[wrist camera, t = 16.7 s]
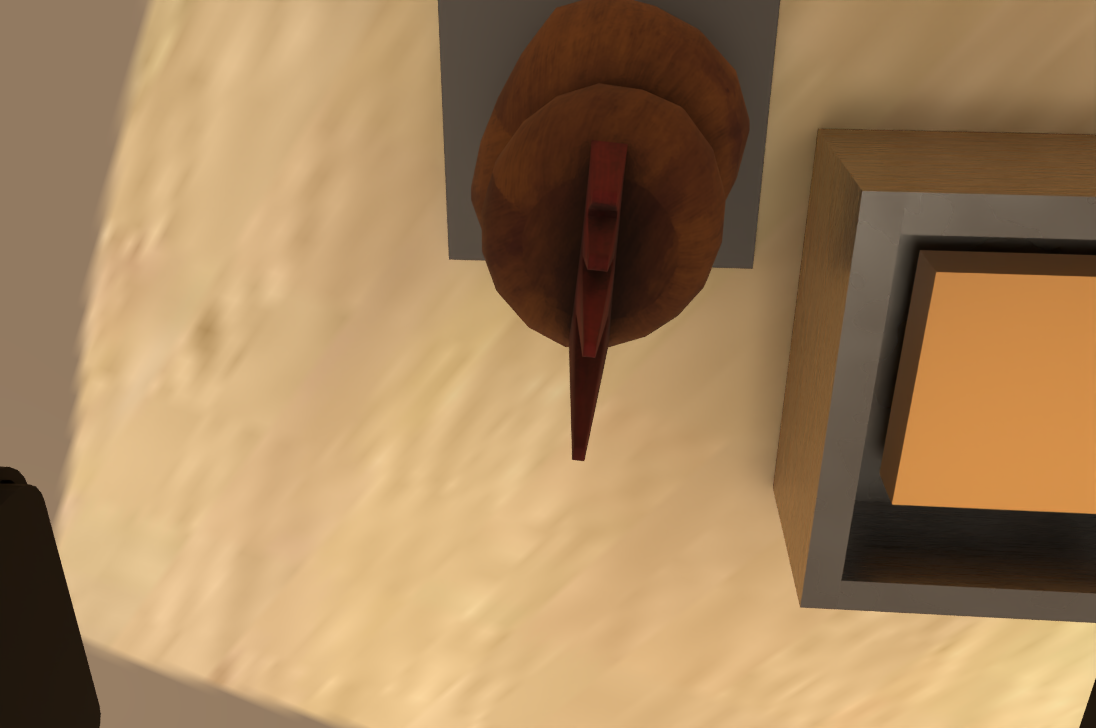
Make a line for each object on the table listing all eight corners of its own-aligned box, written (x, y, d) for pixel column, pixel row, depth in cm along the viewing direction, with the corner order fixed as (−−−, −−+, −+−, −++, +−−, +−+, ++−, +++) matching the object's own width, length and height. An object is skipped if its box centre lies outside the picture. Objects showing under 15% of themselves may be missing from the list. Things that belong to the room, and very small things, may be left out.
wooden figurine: (644, 259, 29) (655, 589, 16) (467, 171, 29) (321, 440, 15) (767, 47, 26) (906, 232, 13) (573, -58, 26) (510, 25, 12)
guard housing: (1266, 138, 27) (1421, 205, 22) (1145, 504, 32) (1246, 630, 27) (818, 128, 28) (862, 190, 23) (773, 487, 33) (800, 607, 28)
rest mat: (783, -66, 26) (786, -65, 25) (750, 261, 30) (752, 268, 29) (438, -69, 26) (435, -68, 26) (452, 252, 30) (448, 259, 30)
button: (1194, 257, 26) (1227, 280, 24) (1124, 484, 29) (1149, 516, 28) (919, 250, 26) (936, 272, 25) (879, 473, 29) (891, 504, 28)
